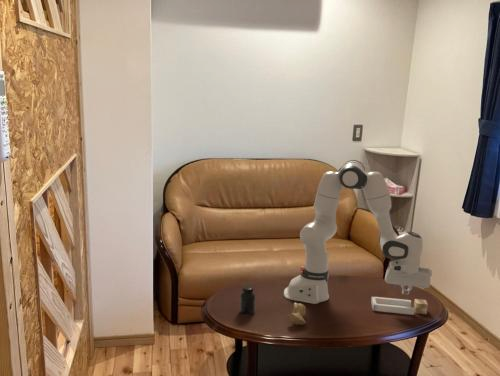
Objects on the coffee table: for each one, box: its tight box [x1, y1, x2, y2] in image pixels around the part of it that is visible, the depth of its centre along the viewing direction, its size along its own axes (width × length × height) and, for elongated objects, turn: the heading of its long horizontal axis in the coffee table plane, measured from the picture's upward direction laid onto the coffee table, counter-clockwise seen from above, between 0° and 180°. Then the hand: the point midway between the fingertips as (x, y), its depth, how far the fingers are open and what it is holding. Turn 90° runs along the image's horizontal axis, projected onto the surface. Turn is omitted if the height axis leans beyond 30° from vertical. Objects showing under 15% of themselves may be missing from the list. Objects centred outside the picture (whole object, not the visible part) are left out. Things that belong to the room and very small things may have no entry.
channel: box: [370, 295, 415, 316], centre depth 219 cm, size 18×10×3 cm, turn 81°
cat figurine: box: [287, 301, 307, 326], centre depth 203 cm, size 8×7×12 cm
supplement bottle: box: [239, 284, 256, 316], centre depth 208 cm, size 7×7×12 cm
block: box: [413, 298, 429, 315], centre depth 216 cm, size 5×5×5 cm
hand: (405, 293), depth 217 cm, fingers closed
